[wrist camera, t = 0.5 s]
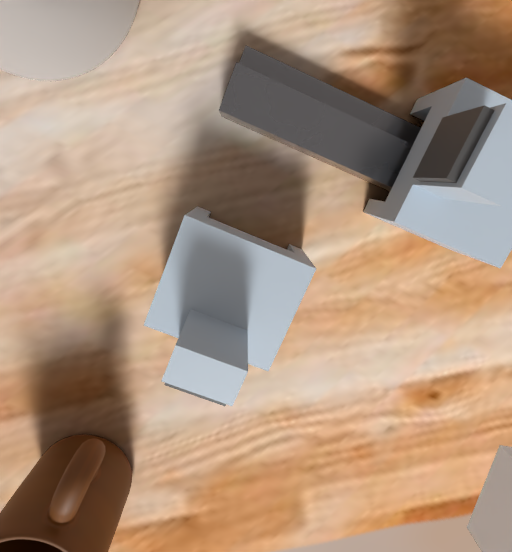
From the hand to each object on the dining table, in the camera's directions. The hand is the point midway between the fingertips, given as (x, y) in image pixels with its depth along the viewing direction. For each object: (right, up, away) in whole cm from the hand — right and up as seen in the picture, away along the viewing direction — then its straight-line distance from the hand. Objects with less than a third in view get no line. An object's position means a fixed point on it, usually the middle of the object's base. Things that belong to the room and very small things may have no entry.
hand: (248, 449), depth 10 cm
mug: (-13, -10, +22) cm, 27 cm away
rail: (+8, +13, +17) cm, 22 cm away
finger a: (+12, +11, +17) cm, 24 cm away
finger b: (-2, +5, +18) cm, 19 cm away
